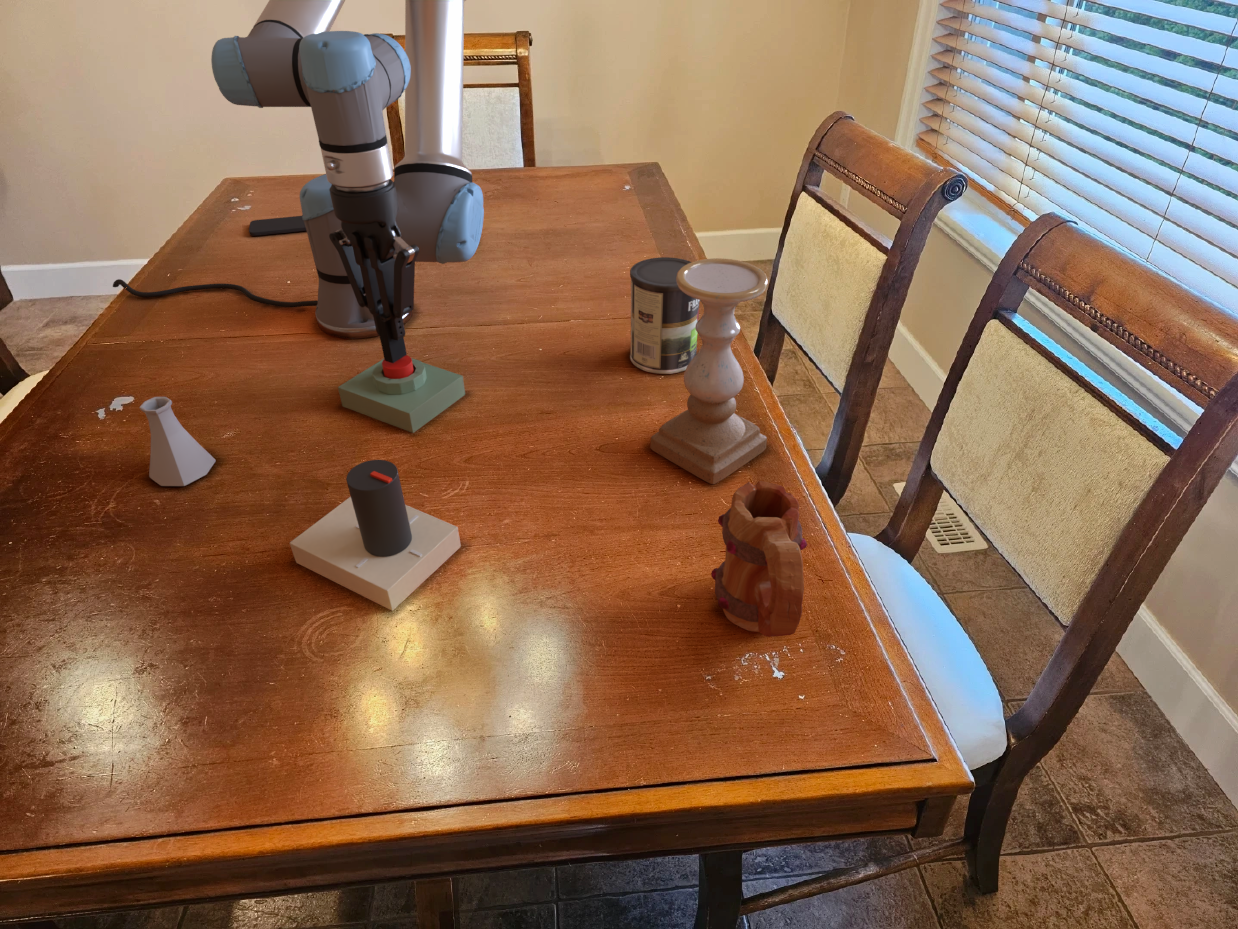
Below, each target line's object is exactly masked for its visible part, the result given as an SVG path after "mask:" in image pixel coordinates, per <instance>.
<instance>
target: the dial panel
mask: <svg viewBox="0 0 1238 929" xmlns="http://www.w3.org/2000/svg"><path fill="white" fill-rule="evenodd" d="M405 506H406V511H407V515H408V520H409V525H410V529H411V534H412V540H411V543H410V544H409V546H408V547H407V548H406V549H405V550H403V551H402V552H400V553H398V554H395V555H392V556H387V557H379V556H374V555H372V554H370V553H368V552H367V551H366V549H365V547H364V544H363V540H362V536H361V533H360V529H359V525H358V522H357V518H356V514H355V511H354V507H353V503H352V499H351V496H349V497H347V499H344V501H342V502H341V503H340V504H338V505H337V506H336V507H334V508H333V509H332V510H331V511H330V512H327V513H326V514H325V515H324V516H323V517H322V518H320V519H319V520H318V521H316V522H315V523H314V524H312V525H310V527H307V529H305V530H304V531H303V532H301V534H299V535H297V536H296V537H295V538H294V539H292V540H291V541H290V542H289V546H290V549H291V551H292V555H293V557H294V560H295V563H296V564H297V565H300V566H302V567H304V568H305V569H308V570H310V571H312V572H314V573H315V574H318V575H320V576H322V577H324V578H326V579H327V580H330V581H332V582H334V583H335V584H338V585H340V586H342V587H344V588H346V589H348V590H350V591H352V592H354V593H356V594H358V595H359V596H362V597H364V598H366V599H368V600H370V601H372V602H373V603H375V604H378V605H380V606H381V607H384V608H386V609H387V610H389V611H392V612H393V611H394V610H395V609H397V608H398V607H399V606H400V605H401V604H402V603H403V602H404V601H405V600H406V599H407V598H408V597H409V596H411V594H413V592H414V591H416V590H417V589H418V588H419V587H420V586H421V585H422V584H423V583H424V582H425V581H427V579H429V577H431V575H433V574H434V573H435V572H436V571H437V570H438V569H439V568H440V567H441V566H442V565H443V564H444V563H445V562H446V561H447V560H449V559H450V558H451V557H452V556H453V555H454V554H455V553H456V552H457V551H458V550H459V549H461V547H462V545H461V539H460V533H459V527H458V526H456V525H454V524H452V523H449V522H447V521H444V520H443V519H440V518H438V517H436V516H434V515H431V514H428V513H426V512H424V511H421V510H419V509H416V508H415V507H412V506H409V505H407V504H405Z"/></svg>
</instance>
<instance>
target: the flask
mask: <svg viewBox="0 0 1238 929" xmlns="http://www.w3.org/2000/svg"><path fill="white" fill-rule="evenodd" d="M172 405H173V400H171V399H170V398H168V397H167V396H154V397H151V398H149V399H147V400H144V401H143V402H142V404H141V405H140V406H139V410H140V411H142V412H143V413H144V414H145V417H146V419H147V420H148V426H149V431H150V454H149V455H150V456H149V470H148V472H149V473H148V478H149V479H151V480H152V481H154V482H155V483H157V485H159V486H160V487H185V486H187V485H190V484H191V483H193V482H195V481H197V480H200V478H203V477H205V476H206V475H208V473H209V472H210V470H211V469H212V467H213V466H214V464H215V463H216V461H217V460H216V459H215V458H214V457H213V456H212V454H211V453H209V452H208V451H207V450H206V449H205V448H204V447H203V446H202V445H201V444H200V443H199V442H198V441H197V440H196V439H195V438H194V437H193V436H192V435H191V434H190V433H189V432H188V431H187V430H186V429H185V428H184V427H183V425H182V424H181V422H180V421H179V420H178V418H177V417H176V416H175V413H174V411H173V409H172Z"/></svg>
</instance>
